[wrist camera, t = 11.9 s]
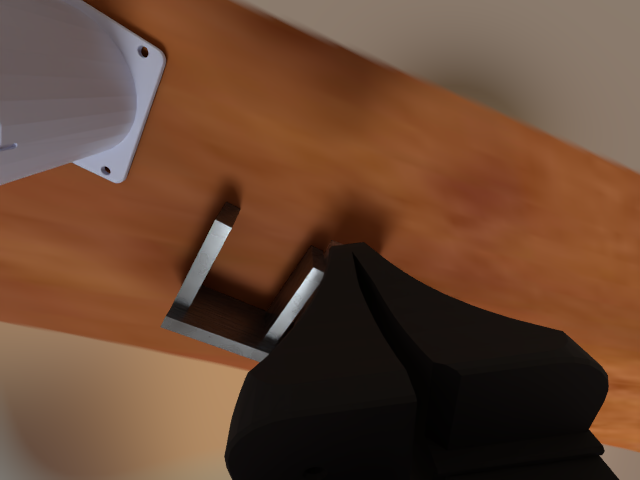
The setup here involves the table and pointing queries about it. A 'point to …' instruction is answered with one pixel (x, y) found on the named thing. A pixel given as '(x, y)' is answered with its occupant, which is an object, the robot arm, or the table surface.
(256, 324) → the rack
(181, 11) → the table surface
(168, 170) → the table surface
